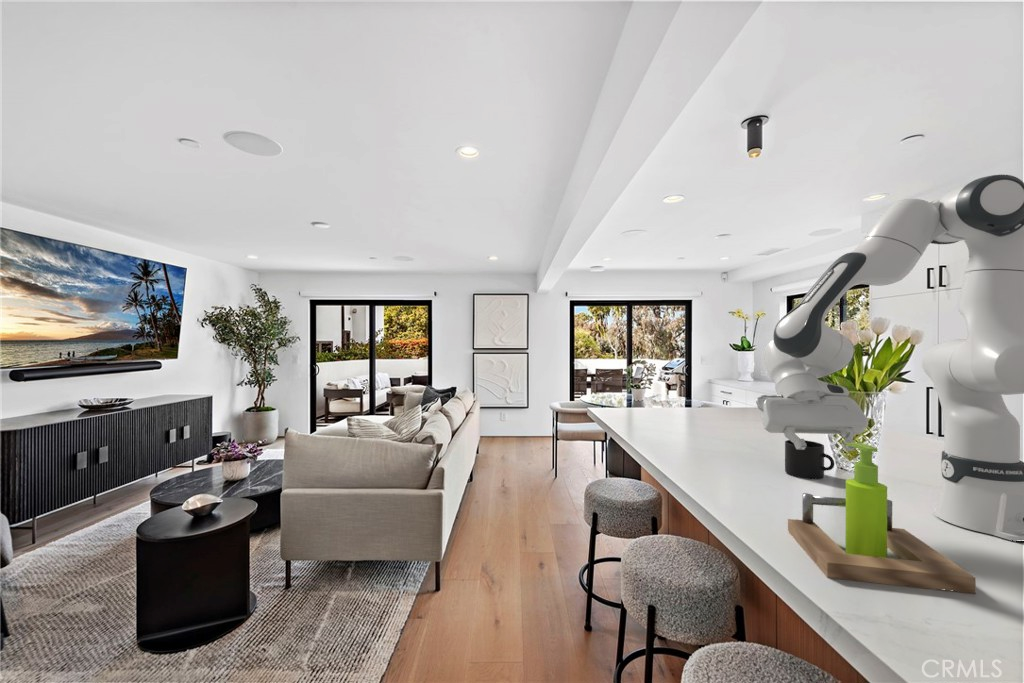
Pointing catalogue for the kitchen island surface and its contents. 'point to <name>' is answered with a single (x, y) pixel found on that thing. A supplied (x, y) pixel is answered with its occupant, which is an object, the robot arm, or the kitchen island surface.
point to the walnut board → (884, 561)
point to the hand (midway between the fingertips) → (826, 448)
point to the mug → (806, 460)
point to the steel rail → (830, 501)
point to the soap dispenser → (866, 507)
